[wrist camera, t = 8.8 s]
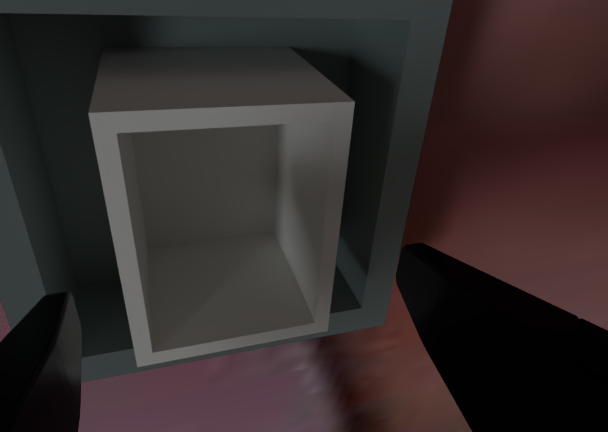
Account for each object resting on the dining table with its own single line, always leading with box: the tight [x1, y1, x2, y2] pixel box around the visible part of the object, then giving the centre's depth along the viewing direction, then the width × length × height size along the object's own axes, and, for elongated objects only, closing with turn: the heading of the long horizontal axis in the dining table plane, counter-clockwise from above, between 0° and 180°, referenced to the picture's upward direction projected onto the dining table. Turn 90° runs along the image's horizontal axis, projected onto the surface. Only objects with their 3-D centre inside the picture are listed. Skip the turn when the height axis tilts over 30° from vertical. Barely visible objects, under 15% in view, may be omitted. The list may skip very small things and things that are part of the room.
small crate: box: [88, 46, 355, 367], centre depth 12 cm, size 6×5×5 cm
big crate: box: [0, 0, 453, 382], centre depth 13 cm, size 11×11×4 cm
